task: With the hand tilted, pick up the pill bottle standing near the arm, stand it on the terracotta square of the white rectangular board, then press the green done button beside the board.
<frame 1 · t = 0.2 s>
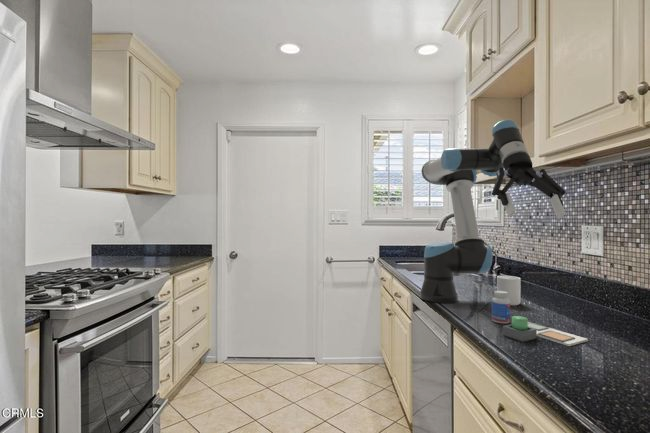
hand: (536, 215, 95), 35 cm above the worktop, tool tilted 35°, fingers open, 13 cm apart
done button: (519, 324, 99), point 4 cm above the worktop, slide at 0.0 cm
button frame: (519, 336, 99), on the worktop
white rectangular board: (546, 333, 101), on the worktop
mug: (508, 302, 139), on the worktop
pill bottle: (500, 322, 113), on the worktop
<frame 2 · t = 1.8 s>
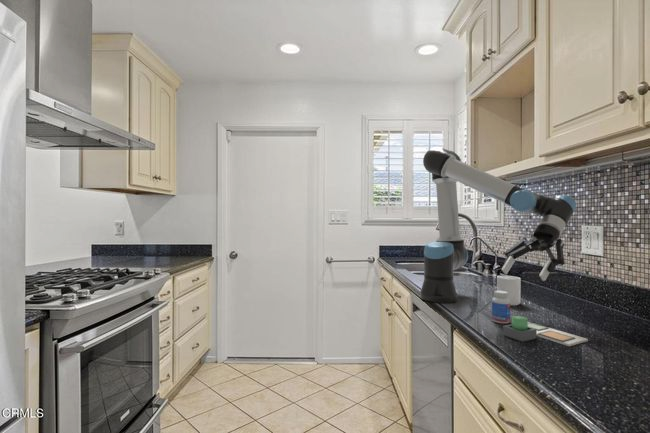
hand: (521, 275, 117), 15 cm above the worktop, tool tilted 45°, fingers open, 13 cm apart
nothing on the worktop moved.
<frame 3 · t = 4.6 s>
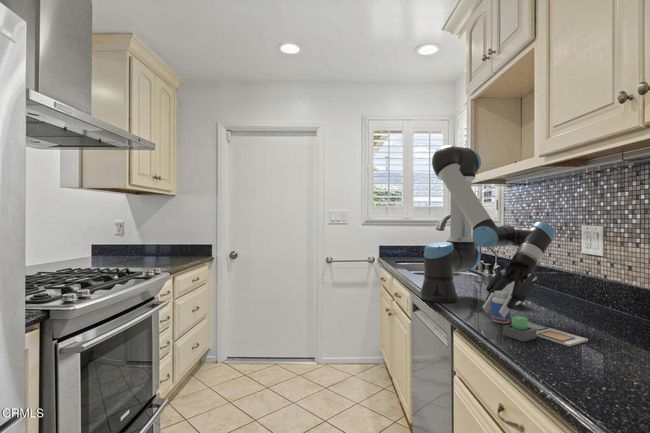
hand: (493, 312, 111), 3 cm above the worktop, tool tilted 45°, fingers closed on pill bottle, 5 cm apart
pill bottle: (500, 321, 113), on the worktop, touching gripper
everything else where it was.
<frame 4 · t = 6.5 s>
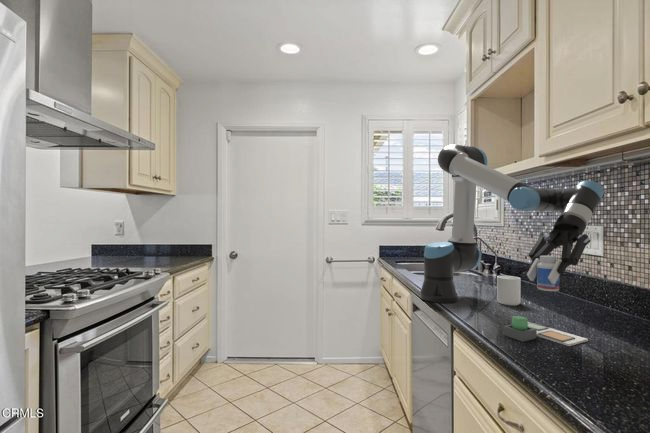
hand: (540, 279, 98), 17 cm above the worktop, tool tilted 45°, fingers closed on pill bottle, 5 cm apart
pill bottle: (548, 290, 99), point 13 cm above the worktop, touching gripper
everything else where it was.
when the fingers open (5 cm above the worktop, at t = 8.9 s): pill bottle drops 1 cm, resting on white rectangular board.
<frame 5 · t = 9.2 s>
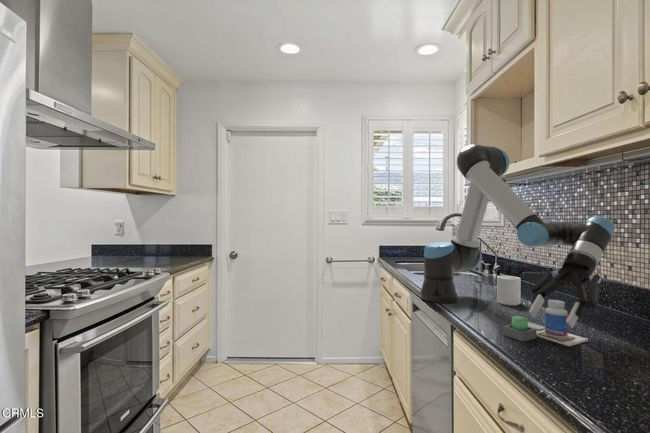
hand: (549, 319, 96), 6 cm above the worktop, tool tilted 45°, fingers open, 9 cm apart
pill bottle: (556, 336, 97), point 1 cm above the worktop, touching white rectangular board
everything else where it was.
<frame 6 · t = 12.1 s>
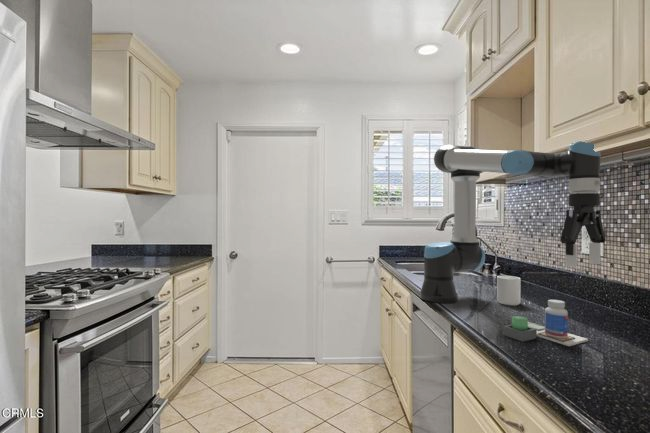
hand: (583, 265, 103), 20 cm above the worktop, tool pointing down, fingers open, 12 cm apart
nothing on the worktop moved.
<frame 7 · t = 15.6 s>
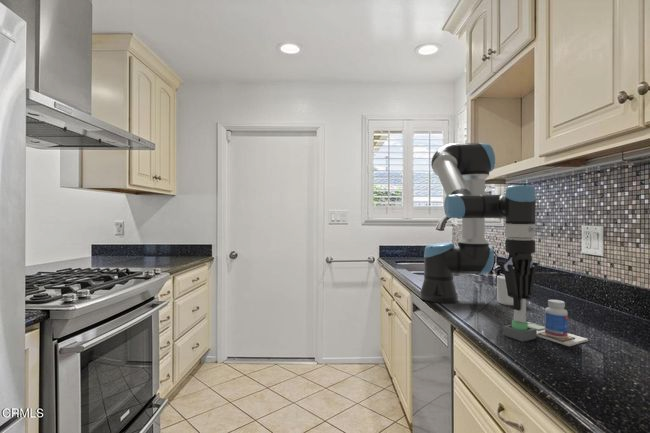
hand: (519, 320, 98), 5 cm above the worktop, tool pointing down, fingers closed
done button: (519, 327, 99), point 3 cm above the worktop, slide at 1.1 cm, touching gripper
everything else where it was.
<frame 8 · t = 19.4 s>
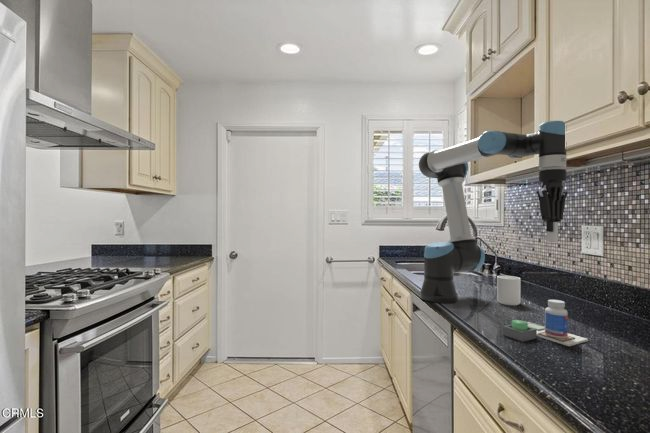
hand: (552, 241, 112), 26 cm above the worktop, tool pointing down, fingers closed
done button: (519, 328, 99), point 2 cm above the worktop, slide at 1.2 cm
everything else where it was.
at the end: pill bottle inside the target area (0.1 cm from its centre), point 0.6 cm above the worktop; pill bottle tilted 0°; done button slide at 1.2 cm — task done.
